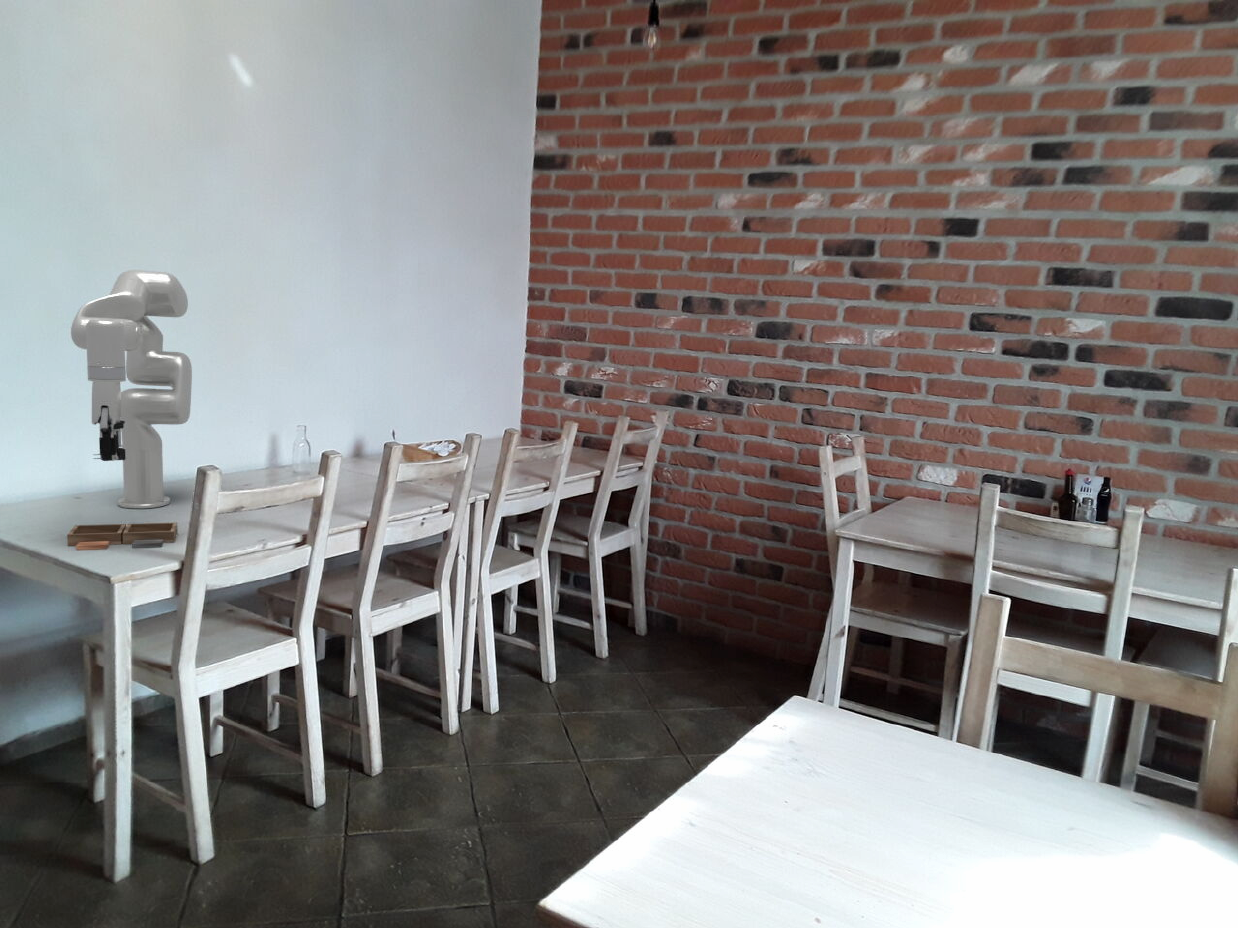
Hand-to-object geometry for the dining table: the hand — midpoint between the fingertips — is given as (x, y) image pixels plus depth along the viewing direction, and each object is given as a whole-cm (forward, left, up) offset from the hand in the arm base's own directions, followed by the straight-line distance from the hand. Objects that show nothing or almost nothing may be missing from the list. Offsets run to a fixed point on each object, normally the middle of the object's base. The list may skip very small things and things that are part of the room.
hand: (109, 452), depth 202 cm
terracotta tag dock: (+3, -3, -21) cm, 21 cm away
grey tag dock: (+3, +8, -21) cm, 22 cm away
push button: (0, 0, -2) cm, 2 cm away
